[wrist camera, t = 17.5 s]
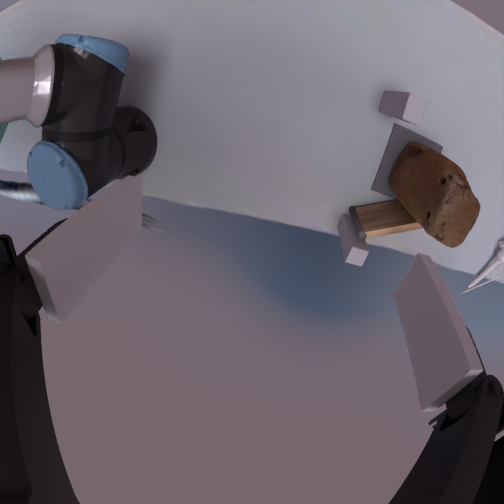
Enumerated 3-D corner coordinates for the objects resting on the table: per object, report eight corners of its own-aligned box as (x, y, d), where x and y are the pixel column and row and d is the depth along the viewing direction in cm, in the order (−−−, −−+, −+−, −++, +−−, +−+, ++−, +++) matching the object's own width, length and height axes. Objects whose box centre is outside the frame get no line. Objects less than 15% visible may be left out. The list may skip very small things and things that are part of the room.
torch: (454, 262, 61) (526, 224, 41) (462, 293, 58) (537, 259, 38) (446, 262, 58) (524, 221, 38) (455, 295, 55) (536, 258, 35)
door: (348, 207, 50) (358, 233, 42) (431, 193, 45) (453, 215, 37) (350, 219, 51) (359, 246, 43) (432, 204, 46) (453, 228, 38)
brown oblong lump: (413, 199, 47) (458, 257, 30) (382, 184, 47) (421, 239, 30) (436, 151, 41) (496, 191, 24) (405, 133, 40) (460, 164, 24)
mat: (371, 189, 48) (371, 189, 48) (394, 123, 40) (395, 123, 40) (417, 207, 48) (418, 207, 47) (442, 146, 40) (443, 147, 40)
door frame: (337, 226, 53) (345, 261, 43) (384, 90, 37) (409, 92, 27) (351, 230, 53) (361, 266, 43) (399, 97, 37) (428, 101, 27)
